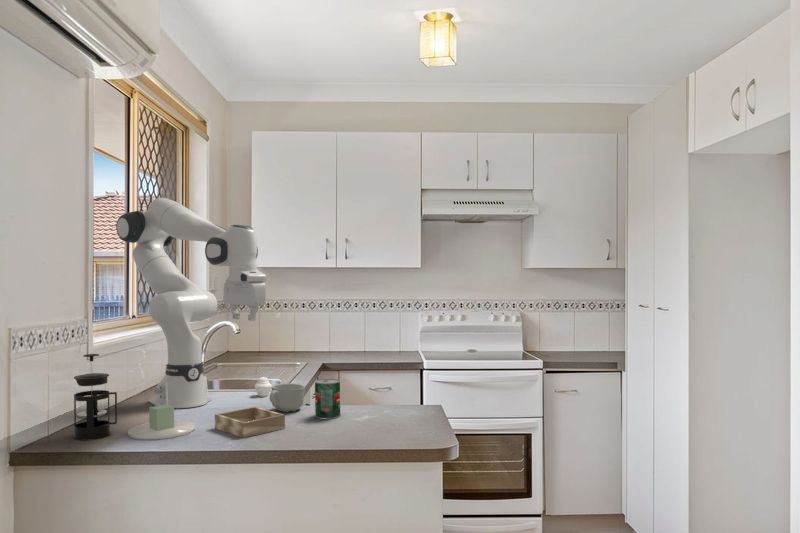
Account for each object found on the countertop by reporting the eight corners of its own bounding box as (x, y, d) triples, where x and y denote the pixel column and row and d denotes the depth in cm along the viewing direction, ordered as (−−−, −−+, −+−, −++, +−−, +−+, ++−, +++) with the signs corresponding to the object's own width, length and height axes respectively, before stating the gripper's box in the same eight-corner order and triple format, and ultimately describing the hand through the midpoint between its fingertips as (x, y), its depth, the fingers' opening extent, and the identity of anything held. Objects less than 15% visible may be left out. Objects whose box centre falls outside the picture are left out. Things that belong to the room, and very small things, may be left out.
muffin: (267, 398, 229) (266, 378, 229) (251, 397, 231) (251, 377, 231) (274, 394, 235) (274, 375, 235) (259, 393, 237) (259, 375, 237)
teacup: (290, 405, 217) (289, 381, 217) (312, 409, 210) (311, 385, 210) (256, 412, 206) (256, 387, 206) (278, 417, 200) (278, 391, 200)
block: (149, 428, 184) (149, 407, 184) (166, 424, 188) (166, 404, 188) (157, 431, 181) (157, 409, 181) (174, 427, 184) (173, 406, 184)
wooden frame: (215, 428, 187) (214, 414, 187) (255, 419, 197) (255, 406, 197) (243, 437, 176) (243, 423, 176) (285, 428, 186) (284, 414, 186)
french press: (68, 442, 174) (67, 357, 174) (73, 433, 183) (72, 353, 183) (115, 437, 178) (114, 354, 178) (118, 429, 187) (117, 350, 187)
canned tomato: (344, 416, 199) (344, 381, 199) (321, 420, 195) (320, 384, 195) (334, 412, 206) (333, 377, 206) (311, 415, 202) (310, 380, 202)
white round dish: (117, 432, 184) (117, 428, 184) (177, 420, 197) (176, 417, 197) (144, 443, 171) (144, 440, 171) (206, 430, 184) (206, 427, 184)
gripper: (217, 276, 208) (218, 318, 208) (251, 276, 193) (252, 322, 193) (235, 275, 212) (235, 317, 212) (269, 275, 197) (270, 320, 197)
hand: (243, 319), depth 202 cm, fingers open, 8 cm apart
